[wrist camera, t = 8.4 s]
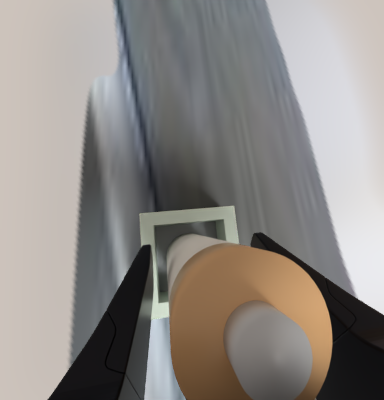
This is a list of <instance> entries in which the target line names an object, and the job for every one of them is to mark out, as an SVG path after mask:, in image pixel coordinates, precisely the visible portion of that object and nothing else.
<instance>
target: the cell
mask: <svg viewBox="0 0 384 400" xmlns="http://www.w3.org/2000/svg"><path fill="white" fill-rule="evenodd" d="M167 279H168V300H169V322H170V343H171V357H172V364H173V369H174V372H175V376H176V379H177V382H178V384H179V387H180V389H181V391H182V393H183V395H184V396H185V398H186V400H314V399H315V398H316V396H317V394H318V393H319V391H320V389H321V387H322V385H323V383H324V381H325V378H326V375H327V372H328V369H329V365H330V360H331V353H332V327H331V321H330V316H329V312H328V309H327V306H326V303H325V300H324V298H323V296H322V294H321V292H320V290H319V289H318V287H317V285H316V284H315V282H314V281H313V280H312V279H311V277H310V276H309V275H308V274H307V273H306V272H305V271H304V270H303V269H302V268H301V267H300V266H299V265H297V264H296V263H295V262H293V261H292V260H290V259H288V258H286V257H284V256H282V255H280V254H277V253H274V252H270V251H266V250H262V249H258V248H253V247H249V246H245V245H240V244H236V243H232V242H227V241H223V240H219V239H214V238H210V237H206V236H201V235H197V234H193V233H186V234H182V235H180V236H178V237H176V238H175V239H174V240H173V241H172V242H171V243H170V245H169V247H168V250H167Z"/></svg>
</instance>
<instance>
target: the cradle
mask: <svg viewBox="0 0 384 400" xmlns="http://www.w3.org/2000/svg"><path fill="white" fill-rule="evenodd" d="M139 217H140V236H141V247H142V245H147V244H150V245H151V247H152V254H153V278H154V292H153V304H152V315H151V320H153V319H159V318H165V317H169V300H168V279H167V250H168V247H169V245H170V243H171V242H172V241H173V240H174V239H175V238H176V237H178V236H180V235H182V234H186V233H193V234H197V235H201V236H206V237H210V238H214V239H219V240H223V241H227V242H232V243H236V244H239V240H238V232H237V225H236V217H235V210H234V206H225V207H213V208H200V209H188V210H176V211H163V212H151V213H139Z"/></svg>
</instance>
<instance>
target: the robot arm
mask: <svg viewBox="0 0 384 400" xmlns="http://www.w3.org/2000/svg"><path fill="white" fill-rule="evenodd" d="M251 247H253V248H258V249H262V250H266V251H270V252H274V253H277V254H280V255H282V256H284V257H286V258H288V259H290V260H292V261H293V262H295V263H296V264H297V265H299V266H300V267H301V268H302V269H303V270H304V271H305V272H306V273H307V274H308V275H309V276H310V277H311V279H312V280H313V281H314V282H315V284H316V285H317V287H318V289H319V290H320V292H321V294H322V296H323V298H324V300H325V303H326V306H327V309H328V312H329V316H330V321H331V327H332V353H331V360H330V365H329V369H328V372H327V375H326V378H325V381H324V383H323V385H322V387H321V389H320V391H319V393H318V394H317V396H316V399H317V400H384V315H383V314H381V313H379V312H378V311H376V310H375V309H373V308H371V307H370V306H368V305H367V304H365V303H363V302H362V301H360V300H358V299H357V298H355V297H354V296H352V295H351V294H349V293H348V292H346V291H344V290H343V289H342V288H340V287H339V286H337V285H336V284H334V283H333V282H331V281H330V280H329V279H327V278H325V277H324V276H323V275H321V274H320V273H319V272H317V271H316V270H314V269H313V268H311V267H310V266H309V265H307V264H306V263H304V262H303V261H302V260H300V259H299V258H297V257H296V256H294V255H293V254H292V253H290V252H289V251H287V250H286V249H285V248H283V247H282V246H280V245H279V244H277V243H276V242H275V241H273V240H272V239H270V238H269V237H268V236H266V235H265V234H263V233H261V232H260V233H254V234H253V237H252V241H251ZM153 292H154V278H153V254H152V247H151V245H150V244H147V245H142V247H141V249H140V250H139V252H138V254H137V256H136V258H135V259H134V261H133V263H132V265H131V267H130V268H129V270H128V272H127V274H126V276H125V277H124V279H123V281H122V283H121V285H120V286H119V288H118V290H117V292H116V294H115V295H114V297H113V299H112V301H111V303H110V304H109V306H108V308H107V311H106V312H105V313H104V315H103V317H102V319H101V321H100V322H99V324H98V326H97V327H96V329H95V331H94V332H93V334H92V336H91V337H90V339H89V340H88V342H87V343H86V345H85V346H84V348H83V349H82V351H81V352H80V354H79V355H78V357H77V358H76V360H75V361H74V363H73V364H72V366H71V367H70V368H69V370H68V371H67V373H66V374H65V376H64V377H63V379H62V380H61V382H60V383H59V385H58V386H57V388H56V389H55V390H54V392H53V393H52V395H51V396H50V397H49V399H48V400H144V394H145V383H146V372H147V360H148V349H149V338H150V326H151V315H152V304H153Z"/></svg>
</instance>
